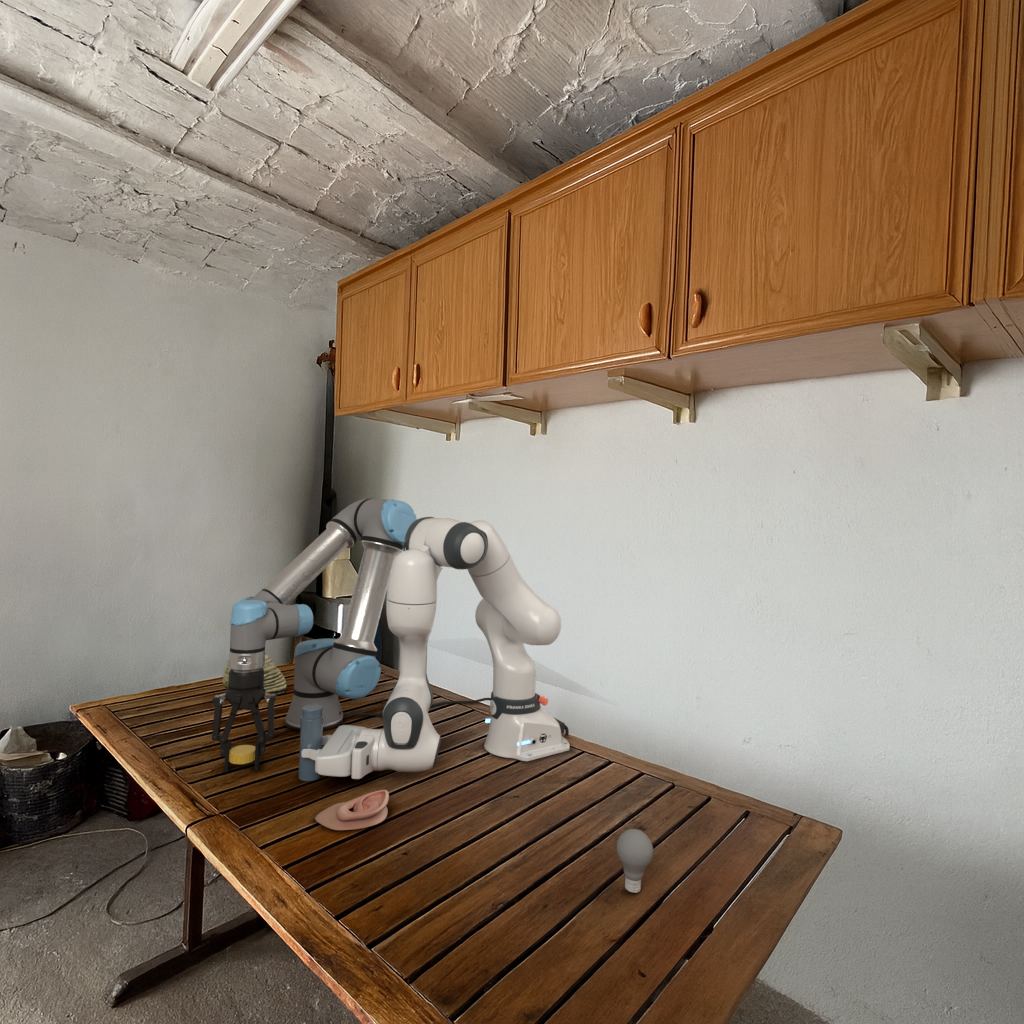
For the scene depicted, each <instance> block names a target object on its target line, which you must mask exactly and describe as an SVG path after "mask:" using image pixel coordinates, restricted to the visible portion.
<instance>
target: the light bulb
mask: <svg viewBox="0 0 1024 1024" xmlns="http://www.w3.org/2000/svg"><path fill="white" fill-rule="evenodd" d="M615 849H616V854H617V857H618V859H619V861H620V863H621V865H622V867H623V873H624V874H623V875H624V876H625V878H624V888H625V890H627V891H628V892H630V893H634V894H635V893H639V892H640V891H641V889H642V887H641V886H642V879H643V877H644V875H645V871H646V868H647V867H648V866H649V864H650V863H651V861H652V859H653V855H654V847H653V843H652V841H651V838H649V836H648V835H647V834H646V833H645V832H643V831H642V830H641V829H636V828H629V829H627V830H625V831H623V832H622V833H621V834H620V835H619V837H618V839H617V841H616V847H615Z"/></svg>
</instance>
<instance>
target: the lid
mask: <svg viewBox="0 0 1024 1024" xmlns="http://www.w3.org/2000/svg"><path fill="white" fill-rule="evenodd" d="M229 762H230V764H232V765H247V764H250V763H252V762H255V745H252V744H240V745H235V746H233V747H231V749H230V751H229Z"/></svg>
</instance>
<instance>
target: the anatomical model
mask: <svg viewBox="0 0 1024 1024" xmlns="http://www.w3.org/2000/svg"><path fill="white" fill-rule="evenodd" d="M389 799H390V793H389V791H388V790H387V789H380V790H375V791H372V792H368V793H366V794H363V795H361V796H358V797H355V798H353V799H351V800H348V801H344V802H338V803H336V804H332V805H330V806H328V807H327V808H325V809H323V810H321V811H320V812H318V814H317V815H315V817H314V819H315V820H314V821H315V822H317V823H318V824H319V825H322V826H323V827H325V828H327V829H331V830H333V831H350V830H351V831H353V830H360V829H365V828H368V827H373V826H375V825H379V824H381V823H382V822H384V821H385V820H386V819H387V816H388V813H389V812H388V811H389V809H388V807H387V805H388V803H389Z"/></svg>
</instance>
